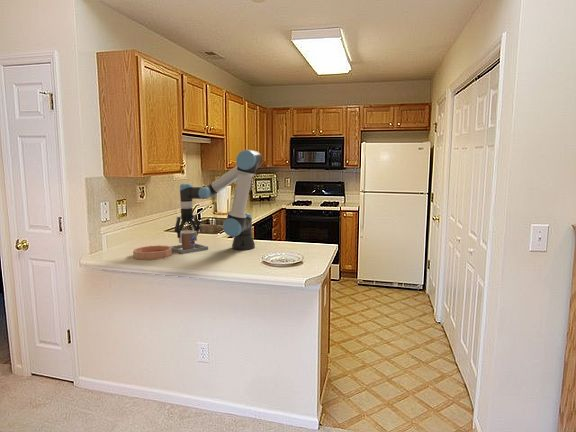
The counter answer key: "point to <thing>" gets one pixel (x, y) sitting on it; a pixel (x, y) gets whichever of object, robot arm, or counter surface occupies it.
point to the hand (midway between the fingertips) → (188, 241)
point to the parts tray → (200, 248)
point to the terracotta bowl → (152, 252)
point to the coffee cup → (188, 239)
